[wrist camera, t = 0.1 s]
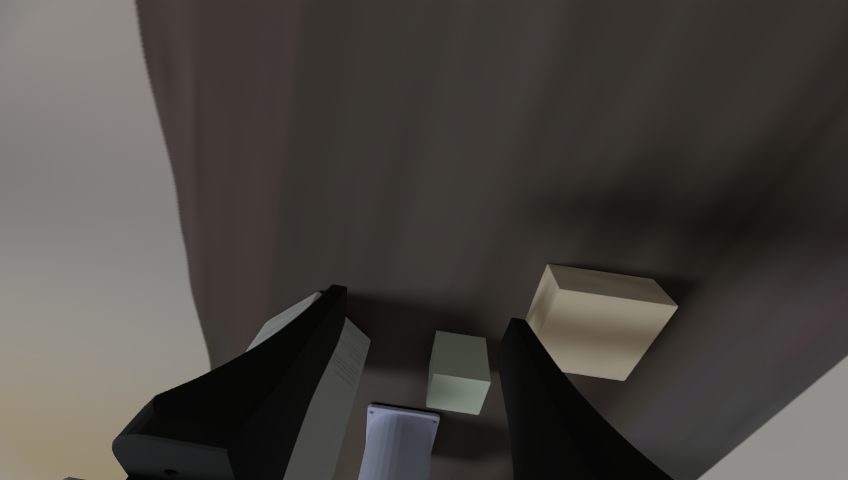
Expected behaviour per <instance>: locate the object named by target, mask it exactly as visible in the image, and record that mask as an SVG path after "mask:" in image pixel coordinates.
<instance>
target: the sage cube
mask: <svg viewBox="0 0 848 480" xmlns="http://www.w3.org/2000/svg"><path fill="white" fill-rule="evenodd" d="M490 383H491V379H490V371H489V363H488V354H487V346H486V338H482V337H475V336H469V335H462V334H455V333H448V332H442V331H436V334H435V339H434V344H433V349H432V354H431V359H430V365H429V378H428V391H427V404H426V407H430V408H437V409H443V410H450V411H456V412H463V413H469V414H476V415H479V412H480V410H481V407H482V404H483V402H484V399H485V396H486V394H487V391H488V388H489V386H490Z"/></svg>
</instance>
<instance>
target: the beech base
mask: <svg viewBox="0 0 848 480" xmlns="http://www.w3.org/2000/svg"><path fill="white" fill-rule="evenodd" d="M677 308H678V305H677V304H676V303H675V302H674V301H673V300H672V299H671V298H670V297H669V296H668V295H667V294H666V293H665V292H664V290H663V289H662V288H661V287H660V286H659V285H658V284H657V283H656V282H655V281H654V280H653V279H648V278H641V277H635V276H628V275H621V274H614V273H607V272H601V271H594V270H587V269H580V268H573V267H567V266H560V265H553V264H547V266H546V269H545V271H544V274H543V276H542V279H541V281H540V284H539V286H538V289H537V291H536V294H535V296H534V299H533V301H532V304H531V306H530V309H529V311H528V314H527V316H526V319H525V320H526V321H527V323H528V324H529V325H530V327H531V328H532V330H533V331H534V333H535V334H536V336H537V337H538V339H539V340H540V342H541V343H542V344H543V346H544V347H545V349H546V350H547V352H548V353H549V354H550V356H551V357H552V359H553V360H554V361H555V363H556V364H557V365H558V367H559V368H560V369H561V371H562V372H568V373H575V374H581V375H588V376H595V377H601V378H608V379H615V380H622V381H625V379H626V378H627V376H628V375H629V374H630V372H631V371H632V370H633V368H634V367H635V365H636V364H637V363H638V361H639V360H640V359H641V357H642V356H643V355H644V353H645V352H646V350H647V349H648V348H649V346H650V345H651V344H652V342H653V341H654V339H655V338H656V337H657V335H658V334H659V333H660V331H661V330H662V328H663V327H664V326H665V324H666V323H667V322H668V320H669V319H670V318H671V316H672V315H673V313H674V312H675V311H676V309H677Z"/></svg>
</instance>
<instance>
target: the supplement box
mask: <svg viewBox="0 0 848 480" xmlns="http://www.w3.org/2000/svg"><path fill="white" fill-rule="evenodd" d="M321 295H322V294H321V293H320V292H317V293H315V294H313V295H311V296H309V297H308V298H306V299H304V300H303V301H301V302H299V303H297V304H296V305H294V306H292V307H291V308H289V309H287V310H286V311H284V312H282V313H280V314H279V315H277V316H275V317H274V318H272V319H270V320H269V321H267V322H266V323H265V325H264V326H263V328H262V329H261V331H260V332H259V334H258V335H257V336H256V338H255V339H254V341H253V342H252V344H251V345H250V346H249V348H248V349H247V351H249V350H250V349H252V348H254V347H255V346H257V345H258V344H260V343H261V342H263V341H264V340H266V339H267V338H269V337H270V336H272V335H273V334H275V333H276V332H277V331H279V330H280V329H281V328H283V327H284V326H285V325H287V324H288V323H289V322H291V321H292V320H293V319H294V318H296V317H297V316H298V315H299V314H300V313H302V312H303V311H304V310H305V309H306V308H307V307H309V306H310V305H311V304H312V303H313V302H314V301H315V300H316V299H318V298H319V297H320V296H321ZM370 342H371V340H370V339H369V338H368V337H367V336H366V335H365V334H364V333H363V332H362V331H361V330H360V329H358V328H357V327H356V326H355V325H354V324H353V323H352V322H351V321H350V320H349V319H348V318H347V317H346V318H345V324H344V327H343V330H342V333H341V336H340V339H339V342H338V344H337V346H336V348H335V351H334V353H333V355H332V357H331V359H330V361H329V363H328V365H327V367H326V370H325V372H324V374H323V376H322V378H321V380H320V382H319V384H318V386H317V388H316V391H315V393H314V395H313V398H312V400H311V402H310V405H309V408H308V410H307V413H306V416H305V419H304V421H303V424H302V427H301V430H300V432H299V435H298V438H297V441H296V444H295V447H294V449H293V452H292V455H291V458H290V461H289V464H288V467H287V470H286V473H285V476H284V479H283V480H332V478H333V474H334V471H335V467H336V463H337V460H338V456H339V453H340V449H341V446H342V442H343V439H344V435H345V431H346V428H347V424H348V421H349V417H350V414H351V410H352V407H353V403H354V400H355V396H356V393H357V389H358V385H359V382H360V378H361V375H362V371H363V368H364V364H365V360H366V356H367V353H368V349H369V346H370ZM247 351H246V352H247Z"/></svg>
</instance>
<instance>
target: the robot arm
mask: <svg viewBox="0 0 848 480" xmlns="http://www.w3.org/2000/svg"><path fill="white" fill-rule="evenodd" d="M346 300H347V287H344V286H339V285H334V284H333V285H331V286H330V287H329V288H328V289H327V290H326V291H325V292H324V293H323V294H322V295H321V296H320V297H319V298H318V299H316V300H315V301H314V302H313V303H312V304H311V305H310V306H309V307H307V308H306V309H305V310H304V311H303V312H302V313H300V314H299V315H298V316H297V317H296V318H294V319H293V320H292V321H291V322H289V323H288V324H287V325H285V326H284V327H283V328H281V329H280V330H279V331H277V332H276V333H275V334H273V335H272V336H270V337H269V338H267V339H266V340H264V341H263V342H261V343H260V344H258V345H257V346H255V347H254V348H252V349H250V350H249V351H247V352H245V353H244V354H242V355H240V356H239V357H237V358H235V359H233V360H231V361H230V362H228V363H226V364H224V365H222V366H220V367H218V368H216V369H214V370H212V371H210V372H208V373H206V374H204V375H202V376H200V377H198V378H196V379H194V380H191V381H189V382H187V383H184V384H182V385H180V386H178V387H175V388H173V389H170V390H168V391H165V392H163V393H160V394H158V395H156V396H155V397H154V398H153V399H152V400H151V401H150V402H149V403H148V404H146V406H144V407H143V409H142V410H141V411H140V412H139V413H138V414H137V415H136V416H135V417H134V418H133V419H132V421H131V422H130V423H129V424H128V425H127V426H126V427H125V429H124V430H123V431H122V432H121V433H120V434H119V435H118V436H117V437H116V439H115V440H114V441H113V444H112V451H113V453H114V455H115V457H116V459H117V460H118V462H119V463H120V464H121V466H122V467H123V469H124V470H125V472H126V473H127V474H128V478H127V479H126V480H283V479H284V476H285V473H286V470H287V467H288V464H289V461H290V458H291V455H292V452H293V449H294V447H295V444H296V441H297V438H298V435H299V432H300V430H301V427H302V424H303V421H304V419H305V416H306V413H307V410H308V408H309V405H310V402H311V400H312V398H313V395H314V393H315V391H316V388H317V386H318V384H319V382H320V380H321V378H322V376H323V374H324V372H325V370H326V367H327V365H328V363H329V361H330V359H331V357H332V355H333V353H334V351H335V348H336V346H337V344H338V342H339V339H340V336H341V333H342V330H343V327H344V324H345V318H346ZM498 361H499V374H500V380H501V386H502V391H503V397H504V402H505V408H506V413H507V419H508V424H509V431H510V438H511V449H512V461H513V475H514V480H674V479H672V478H671V477H670V476H669V475H667V474H666V473H665V472H663V471H662V470H661V469H660V468H658V467H657V466H656V465H655V464H653V463H652V462H651V461H650V460H649V459H647V458H646V457H645V456H644V455H643V454H642V453H640V452H639V451H638V450H637V449H636V448H635V447H634V446H632V445H631V444H630V443H629V442H628V441H627V440H626V439H625V438H624V437H622V436H621V435H620V434H619V433H618V432H617V431H616V430H615V429H614V428H613V427H612V426H611V425H610V424H609V423H608V422H607V421H606V420H605V419H604V418H603V417H602V416H601V415H600V414H599V413H598V412H597V411H596V410H595V409H594V408H593V407H592V406H591V405H590V404H589V403H588V401H587V400H586V399H585V398H584V397H583V396H582V395H581V394H580V393H579V391H578V390H577V389H576V388H575V387H574V386H573V384H572V383H571V382H570V381H569V379H568V378H567V377H566V376H565V374H564V373H563V372H562V371H561V369H560V368H559V367H558V365H557V364H556V363H555V361H554V360H553V359H552V357H551V356H550V354H549V353H548V352H547V350H546V349H545V347H544V346H543V344H542V343H541V342H540V340H539V339H538V337H537V336H536V334H535V333H534V331H533V330H532V328H531V327H530V325H529V324H528V323H527V321H526V320H522V319H517V318H511V321H510V323H509V325H508V328H507V330H506V332H505V335H504V337H503V339H502V341H501V344H500V346H499V348H498ZM439 421H440V416H439V415H438V414H436V413H429V412H422V411H416V410H409V409H402V408H396V407H389V406H383V405H376V404H370V405H369V406H368V412H367V432H366V447H365V452H364V456H363V461H362V465H361V469H360V474H359V478H358V480H430V461H431V451H432V447H433V443H434V439H435V436H436V432H437V428H438V424H439ZM63 480H83V479H77V478H72V477H68V478H65V479H63Z"/></svg>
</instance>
